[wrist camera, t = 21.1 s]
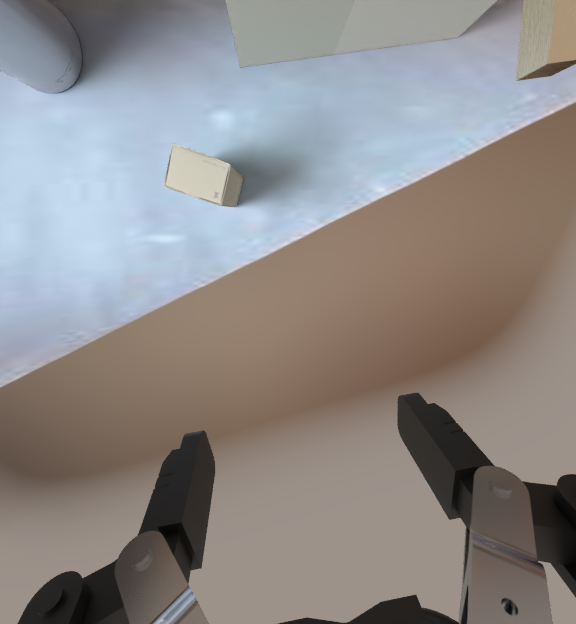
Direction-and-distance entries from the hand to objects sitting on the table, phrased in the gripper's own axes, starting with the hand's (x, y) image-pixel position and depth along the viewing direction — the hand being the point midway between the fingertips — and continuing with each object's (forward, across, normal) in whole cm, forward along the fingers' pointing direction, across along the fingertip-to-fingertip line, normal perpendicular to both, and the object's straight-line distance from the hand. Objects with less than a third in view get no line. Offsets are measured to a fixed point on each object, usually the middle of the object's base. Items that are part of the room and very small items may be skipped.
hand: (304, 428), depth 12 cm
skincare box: (+37, +5, -11) cm, 39 cm away
